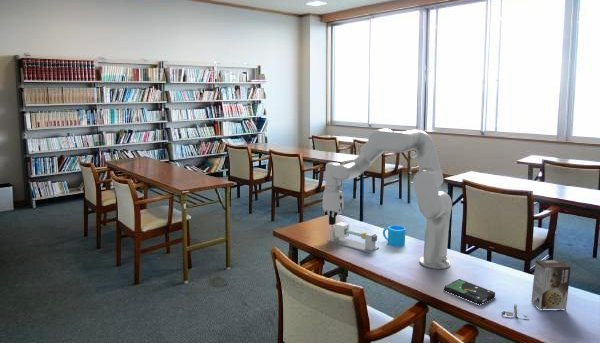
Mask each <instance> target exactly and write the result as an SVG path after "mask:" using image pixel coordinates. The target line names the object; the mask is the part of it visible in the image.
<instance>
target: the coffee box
mask: <svg viewBox="0 0 600 343" xmlns="http://www.w3.org/2000/svg"><path fill="white" fill-rule="evenodd" d="M534 263H535V264H534V272H533V273H534V275H533V282H532V283H533V284H532V294H531V301H530V302H532V303H533V304H534V305H535V306H537V307H538V308H539V309H542V310H543V309H566V310H567V303H568V296H569V295H568V294H569V287H570V286H569V285H570V277H571V269H572V268H571V267H572V266H570V265H568V264H567V263H566V262H564V261H563V260H562V259H541V260H540V259H536V260H535V262H534ZM532 303H531V304H532ZM533 304H532V305H533ZM534 305H533V306H534ZM537 307H536V308H537ZM538 308H537V309H538ZM539 309H538V310H539Z"/></svg>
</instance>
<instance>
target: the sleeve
mask: <svg viewBox="0 0 600 343" xmlns="http://www.w3.org/2000/svg"><path fill="white" fill-rule="evenodd" d="M334 226H335V236H336V237H340V238H347V237H349V235H350V234H349V233H345V232H344V229H346V230H350V223H346V222H342V221H340V222H337V223H335V224H334Z"/></svg>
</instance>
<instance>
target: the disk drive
mask: <svg viewBox="0 0 600 343" xmlns="http://www.w3.org/2000/svg"><path fill="white" fill-rule="evenodd" d="M444 290H445V291H447V292H449V293H452V294H454V295H457V296H460V297H462V298H464V299H467V300H469V301H472V302H474V303H477V304H479V305H480V304H482V303H484V304H486V303H488V302H490V301H492V300H493V298H494V297H495V298H496V292H495V291H493V290H490V289H487V288H485V287H482V286H480V285H476V284H474V283H471V282H468V281H466V280H464V279H461V278H458V279H457V280H453V281H452V282H451V283H448V284H446V285H444V287H443V291H444ZM445 291H444V292H445ZM447 292H446V293H447ZM449 293H448V294H449ZM452 294H451V295H452ZM454 295H453V296H454ZM457 296H456V297H457ZM462 298H461V299H462ZM495 298H494V299H495ZM464 299H463V300H464ZM491 299H492V300H491ZM467 300H466V301H467ZM489 300H490V301H489ZM469 301H468V302H469ZM487 301H488V302H487ZM485 302H486V303H485ZM474 303H473V304H474ZM479 305H478V306H479ZM482 305H483V304H482Z"/></svg>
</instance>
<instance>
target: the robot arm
mask: <svg viewBox="0 0 600 343" xmlns="http://www.w3.org/2000/svg"><path fill="white" fill-rule="evenodd" d="M367 140H368V141H367V142H365V143H364V144H363V145H362V146H361V147H360V153H359V155H358V156H357V157H356V158H354V160H352V161H350V162H348V163H345V164H344V163H343V164H341V163H339V162H335V161H334V162H332V161H331V162H327V163H326V164H325V176H324V177H325V178H324V179H325V180H324V182H325V184H324V190H323V194H322V204H321V205H322V211H323V212H325V213H326V214H327V216H328V225H331V226H335V224H336V221H337V220H336V218H337V216H339V215H342V214H343V210H344V209H345V208H344V195H343V193H344V192H343V191H342V190H343V187H342V182H346V181H349V180H352V179H356V178H358V177H359V176H361V175H362V174H363V173H364V172H366V170H367V169H369V168H370V167H371V166H372V164H373V163H374V161H375V160H376V159H378V158H379V157H380V156H381V155H383V153H385V152H394V153H407V152H410V151H413V150H414V151H415V152H416V162H417V165H418V171H417V172H416V173H415V174H414V176H413V180H412V187H413V190H414V194H415V200H416V202H417V206H418V209H419V212H420V214H421V215H422V216H423V217H425V224H424V225H425V228H424V241H423V242H424V244H423V256H421V257H420V258H419V264H420V265H421V266H423V267H425V268H429V269H433V270H434V269H435V270H444V269H447V268H449V267H450V265H451V262H450V261H449V259H448V256H447V255H448V243H449V242H448V241H449V231H450V219H451V213H452V208H453V202H452V198H451V196H450V194H448V193H447V192H445V191H443V190H442V191H441V190H439V189H438V188H440V187H441V186H442V185H443V182H444V174H443V171H442V168H441V163H440V160H439V157H438V153H437V149H436V145H435V143H434V140H433V139H432V137H431V136H430V135H429V134H428V133H427V132H426V131H423V130H419V129H409V130H404V131H394V130H392V129H390V128H380V129H375V130H373V131H371V133H370V134H369V135H368V139H367Z"/></svg>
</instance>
